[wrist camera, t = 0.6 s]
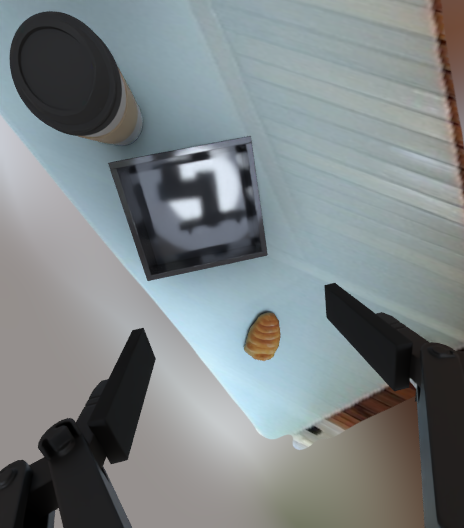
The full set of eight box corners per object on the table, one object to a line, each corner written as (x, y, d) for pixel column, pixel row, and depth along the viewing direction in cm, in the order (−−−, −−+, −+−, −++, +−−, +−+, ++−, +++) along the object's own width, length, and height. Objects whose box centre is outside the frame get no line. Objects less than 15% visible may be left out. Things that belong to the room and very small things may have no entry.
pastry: (251, 308, 45) (255, 319, 41) (284, 312, 46) (290, 322, 42) (242, 348, 48) (245, 362, 44) (273, 351, 49) (278, 364, 45)
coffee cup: (76, 136, 33) (-19, 97, 19) (92, 67, 31) (-3, -36, 17) (140, 164, 35) (96, 148, 21) (159, 101, 33) (125, 35, 19)
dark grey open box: (123, 166, 35) (107, 162, 29) (243, 144, 36) (250, 135, 30) (155, 268, 40) (147, 281, 35) (259, 246, 41) (267, 255, 36)
